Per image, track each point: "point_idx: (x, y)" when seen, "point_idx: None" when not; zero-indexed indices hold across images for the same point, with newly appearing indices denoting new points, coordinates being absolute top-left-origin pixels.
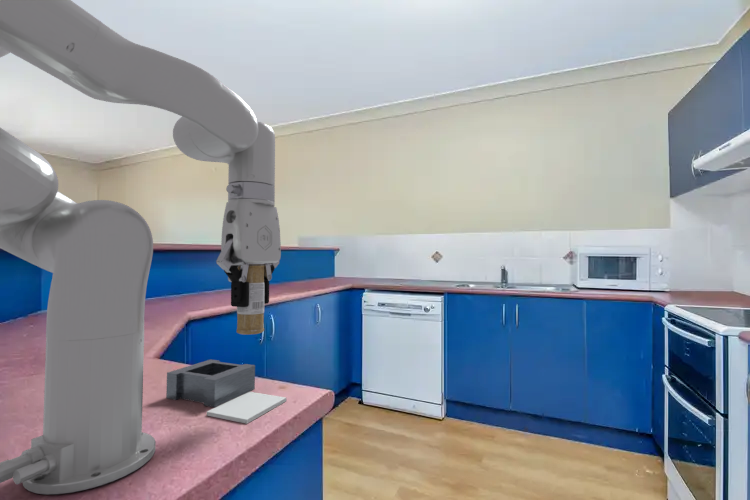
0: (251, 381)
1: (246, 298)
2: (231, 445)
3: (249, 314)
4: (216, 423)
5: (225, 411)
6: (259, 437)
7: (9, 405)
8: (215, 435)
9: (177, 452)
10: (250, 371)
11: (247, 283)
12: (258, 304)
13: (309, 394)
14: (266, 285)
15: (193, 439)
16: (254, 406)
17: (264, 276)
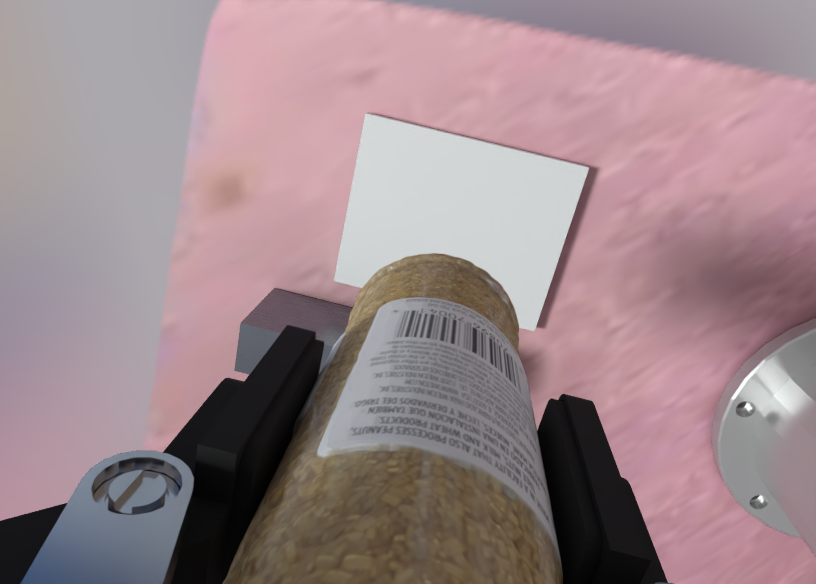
0: (281, 304)
1: (602, 438)
2: (747, 137)
3: (520, 361)
4: (589, 265)
5: (527, 273)
6: (689, 72)
7: None
8: (677, 222)
9: (788, 269)
10: (275, 322)
11: (631, 544)
12: (478, 343)
13: (276, 44)
14: (261, 427)
15: (705, 271)
16: (471, 197)
17: (190, 542)
